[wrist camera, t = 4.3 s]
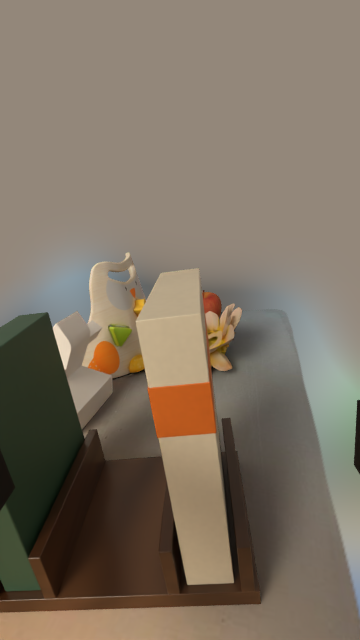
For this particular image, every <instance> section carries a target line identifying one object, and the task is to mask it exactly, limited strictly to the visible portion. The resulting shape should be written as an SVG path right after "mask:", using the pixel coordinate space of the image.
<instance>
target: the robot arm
mask: <svg viewBox="0 0 360 640" xmlns="http://www.w3.org/2000/svg"><path fill="white" fill-rule="evenodd" d="M354 465H355V467H356V469H357V470H358V472H359V473H360V400H357V418H356V437H355V456H354ZM14 489H15V485H14V483H13V480H12V478H11V475H10V472H9V470H8V467H7V465H6V462H5V460H4V457H3V455H2V452H1V449H0V511H1V509H2V508H3V506H4V505H5V503H6V501H7V500H8V498H9V497H10V495H11V494H12V492H13V490H14Z"/></svg>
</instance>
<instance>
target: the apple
mask: <svg viewBox="0 0 360 640" xmlns="http://www.w3.org/2000/svg"><path fill="white" fill-rule="evenodd" d="M202 296H203V304H204V311H205V313H207V312H209V311H211V312H214V313H215V314H217V315H218V317H220V314H221V301H220V299H219V297H218V296H217V295H216V294H214V293H210V292H204V290H203V293H202Z"/></svg>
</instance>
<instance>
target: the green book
mask: <svg viewBox="0 0 360 640" xmlns="http://www.w3.org/2000/svg"><path fill="white" fill-rule="evenodd" d="M84 440H85V439H84V436H83V432H82V429H81V425H80V422H79V418H78V415H77V411H76V408H75V404H74V401H73V397H72V394H71V390H70V387H69V383H68V380H67V377H66V373H65V370H64V366H63V363H62V359H61V356H60V352H59V349H58V345H57V342H56V338H55V335H54V331H53V328H52V325H51V321H50V318H49V314H48V313H47V312H46V313H37V314H29V315H21V316H18V317H16V318H15V319H13V320H12V321H10V322H8V323H7V324H5V325H4V326H2V327H0V449H1V452H2V455H3V457H4V460H5V462H6V465H7V467H8V470H9V472H10V475H11V478H12V480H13V483H14V485H15V489H14V490H13V492H12V494H11V495H10V497H9V498H8V500H7V501H6V503H5V505H4V506H3V508H2V509H1V511H0V580H1V583H2V585H3V587H4V589H5V591H7V592H8V591H34V590H41V589H40V586H39V584H38V581H37V579H36V577H35V574H34V572H33V570H32V567H31V565H30V562H29V560H28V557H29V555H30V553H31V551H32V549H33V547H34V545H35V543H36V541H37V539H38V536H39V534H40V532H41V530H42V528H43V526H44V524H45V522H46V520H47V518H48V515H49V513H50V511H51V509H52V507H53V505H54V503H55V501H56V499H57V497H58V494H59V492H60V490H61V488H62V486H63V484H64V482H65V480H66V478H67V476H68V474H69V471H70V469H71V467H72V465H73V463H74V461H75V459H76V457H77V455H78V453H79V450H80V448H81V446H82V444H83V442H84Z"/></svg>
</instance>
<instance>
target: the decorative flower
mask: <svg viewBox="0 0 360 640" xmlns="http://www.w3.org/2000/svg"><path fill="white" fill-rule="evenodd" d="M234 306H235V304H231V305H229V306H227V307H226V309H225V310H224V312H223V313H222V315H221V317H220V320H219V317H218V315H217V314H215V313H214V312H211V311H209V312H207V313H205V316H206V324H207V332H208V341H209V351H210V362H211V366H213V367H214V368H216V369H218V370H220V371H227V370H229V369H232V365H231V363H230V361H229V360H228V358H227V357H226V356H225V353H226V350H227V347H229V342H231V341H232V340H234V339H233V338H234V334H235V333H236V332H234V329H235V328H236V326H237V325H238V323H239V320H240V318H241V313H242V309H241V308H239V307H238V308H237V309H235V310H234V311H233V312H232V310H233V308H234ZM231 312H232V313H231ZM230 314H231V315H230Z"/></svg>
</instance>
